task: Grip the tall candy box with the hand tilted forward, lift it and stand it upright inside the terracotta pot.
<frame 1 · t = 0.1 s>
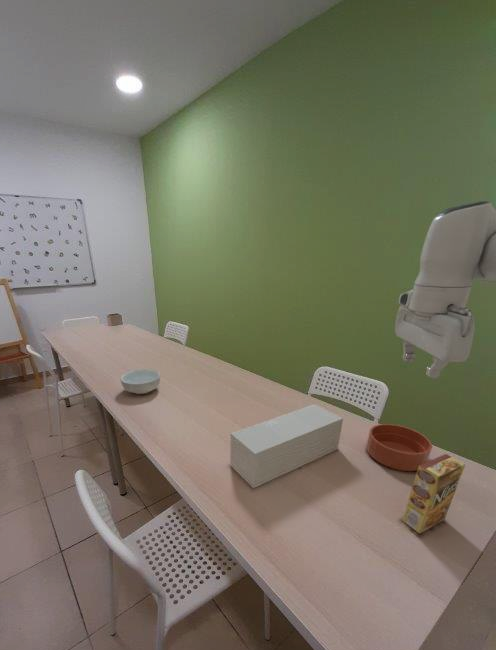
hand: (418, 368, 63), 32 cm above the table, tool pointing down, fingers open, 8 cm apart
pot: (394, 455, 88), on the table
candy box: (422, 520, 66), on the table
cereal bowl: (142, 390, 134), on the table
pale grey rectangular box: (285, 457, 88), on the table
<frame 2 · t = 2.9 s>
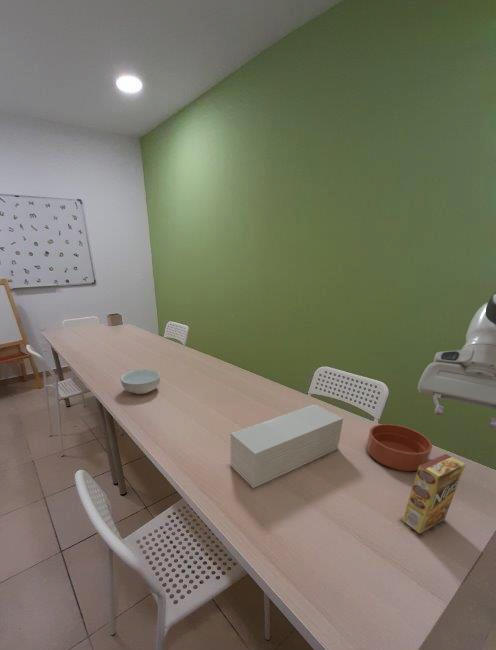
hand: (464, 420, 65), 21 cm above the table, tool tilted 45°, fingers open, 8 cm apart
nothing on the table moved.
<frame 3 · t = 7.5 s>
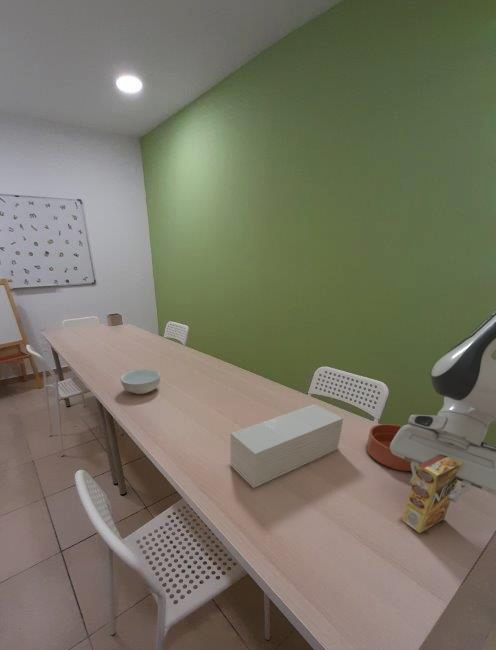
hand: (431, 491, 63), 8 cm above the table, tool tilted 45°, fingers closed on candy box, 5 cm apart
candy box: (422, 520, 67), on the table, touching gripper
everything else where it was.
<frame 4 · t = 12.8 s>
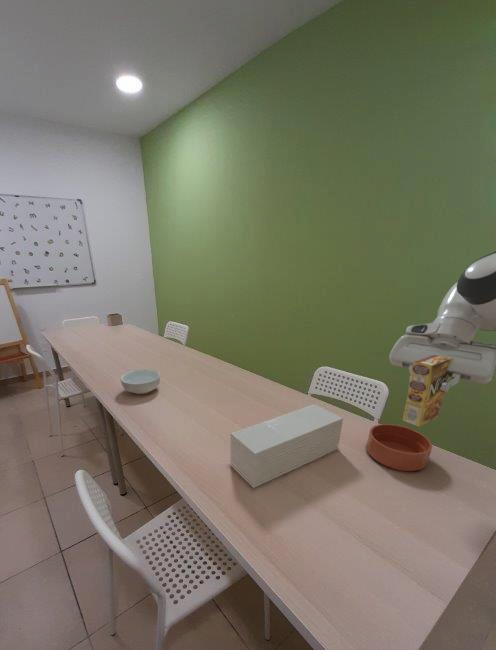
hand: (426, 387, 70), 25 cm above the table, tool tilted 45°, fingers closed on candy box, 5 cm apart
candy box: (419, 419, 74), point 17 cm above the table, touching gripper
everything else where it was.
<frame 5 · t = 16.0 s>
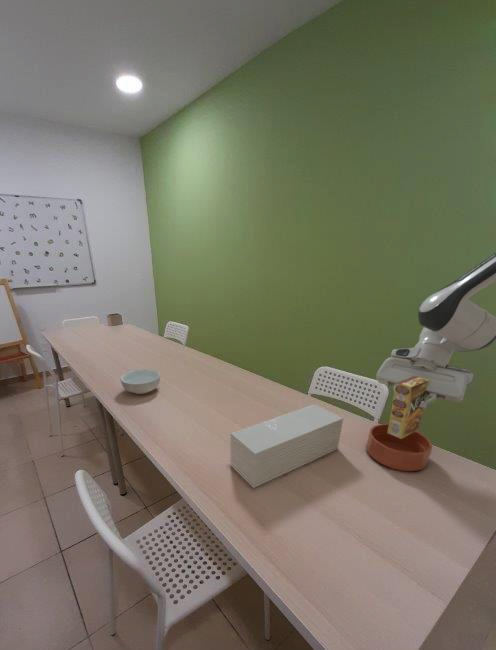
hand: (408, 404, 80), 17 cm above the table, tool tilted 45°, fingers closed on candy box, 5 cm apart
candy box: (402, 432, 84), point 8 cm above the table, touching gripper
everything else where it was.
when the fingers open (9 cm above the table, at t = 18.6 s): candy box stays where it is, resting on pot.
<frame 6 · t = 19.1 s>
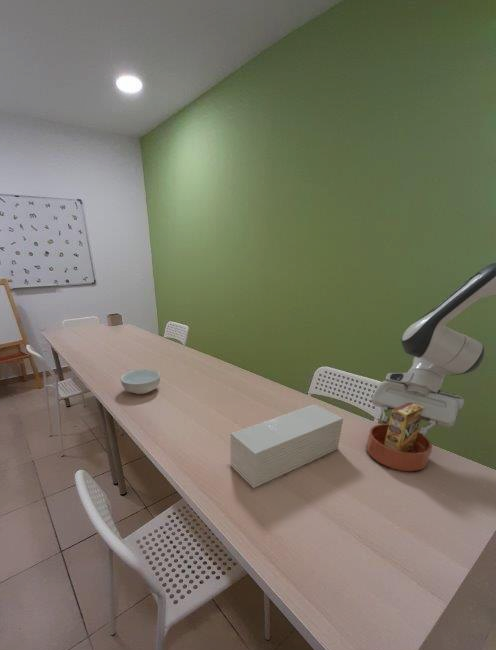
hand: (401, 428, 83), 9 cm above the table, tool tilted 45°, fingers open, 8 cm apart
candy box: (396, 454, 87), resting on pot
everything else where it was.
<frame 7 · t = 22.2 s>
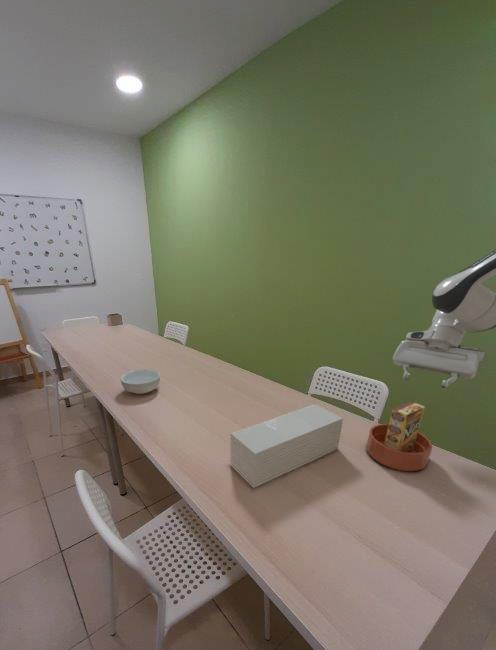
hand: (423, 383, 87), 19 cm above the table, tool tilted 45°, fingers open, 8 cm apart
nothing on the table moved.
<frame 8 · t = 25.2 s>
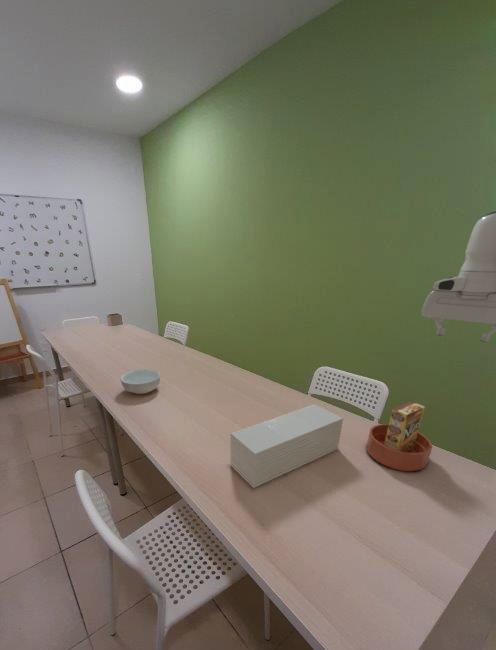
hand: (461, 338, 80), 33 cm above the table, tool pointing down, fingers open, 8 cm apart
nothing on the table moved.
at the end: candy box inside the target area in the pot (0.4 cm from its centre), point 0.4 cm above the pot's base; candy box tilted 0°; the gripper is holding nothing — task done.
